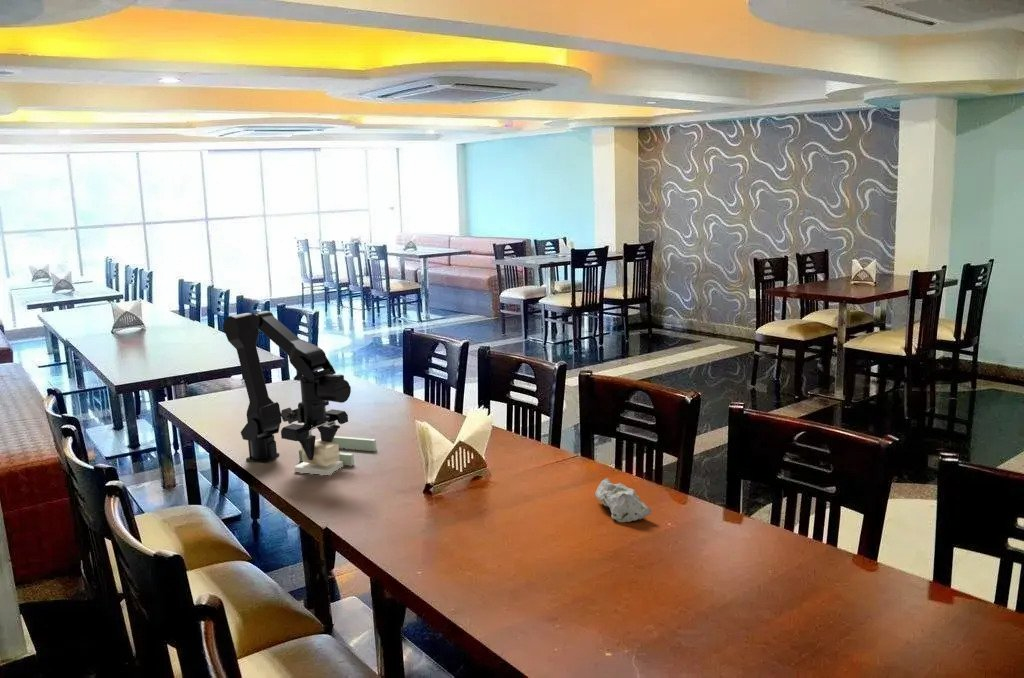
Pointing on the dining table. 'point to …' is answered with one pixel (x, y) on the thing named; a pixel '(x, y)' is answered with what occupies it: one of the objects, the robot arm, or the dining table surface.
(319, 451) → the block
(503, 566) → the dining table surface
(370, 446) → the shelf bay
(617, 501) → the rock
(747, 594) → the dining table surface
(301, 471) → the stand
